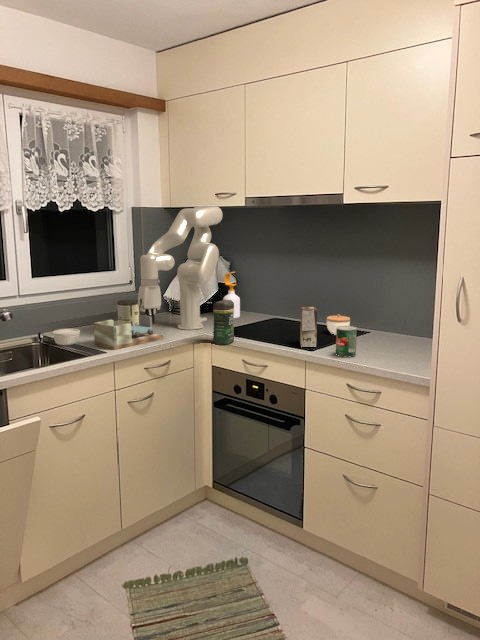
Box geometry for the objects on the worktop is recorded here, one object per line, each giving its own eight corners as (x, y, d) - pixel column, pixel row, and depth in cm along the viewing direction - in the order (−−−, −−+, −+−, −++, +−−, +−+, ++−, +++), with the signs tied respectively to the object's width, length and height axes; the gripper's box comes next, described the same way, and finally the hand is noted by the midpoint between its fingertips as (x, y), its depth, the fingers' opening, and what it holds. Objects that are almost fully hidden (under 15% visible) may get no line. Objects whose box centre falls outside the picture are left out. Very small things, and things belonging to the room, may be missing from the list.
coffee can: (122, 327, 261) (120, 299, 259) (142, 328, 260) (141, 299, 258) (115, 332, 251) (113, 302, 249) (136, 333, 250) (135, 303, 248)
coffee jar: (227, 346, 225) (227, 302, 222) (210, 344, 229) (210, 301, 225) (237, 341, 234) (236, 299, 230) (220, 339, 237) (220, 298, 234)
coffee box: (316, 348, 222) (317, 310, 219) (301, 348, 222) (302, 309, 219) (314, 342, 231) (315, 306, 228) (299, 342, 231) (300, 306, 228)
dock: (143, 334, 247) (142, 314, 245) (163, 338, 238) (162, 318, 236) (94, 344, 228) (93, 322, 226) (114, 349, 219) (113, 327, 217)
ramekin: (85, 340, 236) (84, 328, 235) (72, 346, 225) (71, 334, 224) (62, 339, 238) (61, 327, 237) (48, 345, 228) (47, 333, 227)
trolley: (139, 330, 243) (139, 314, 241) (153, 334, 236) (153, 317, 235) (121, 334, 236) (120, 317, 234) (135, 338, 229) (134, 320, 228)
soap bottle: (234, 319, 282) (233, 272, 278) (219, 317, 287) (219, 271, 282) (243, 316, 290) (243, 271, 285) (229, 314, 295) (229, 270, 290)
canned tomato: (332, 355, 210) (333, 328, 208) (339, 351, 216) (340, 324, 214) (351, 358, 206) (352, 330, 204) (358, 354, 212) (359, 326, 210)
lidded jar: (354, 334, 247) (355, 314, 245) (339, 337, 240) (339, 317, 238) (336, 330, 255) (337, 311, 253) (321, 333, 248) (321, 313, 246)
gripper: (157, 280, 245) (158, 320, 249) (130, 283, 234) (132, 324, 238) (168, 282, 240) (168, 322, 244) (141, 285, 229) (142, 327, 233)
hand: (150, 323), depth 241 cm, fingers closed
